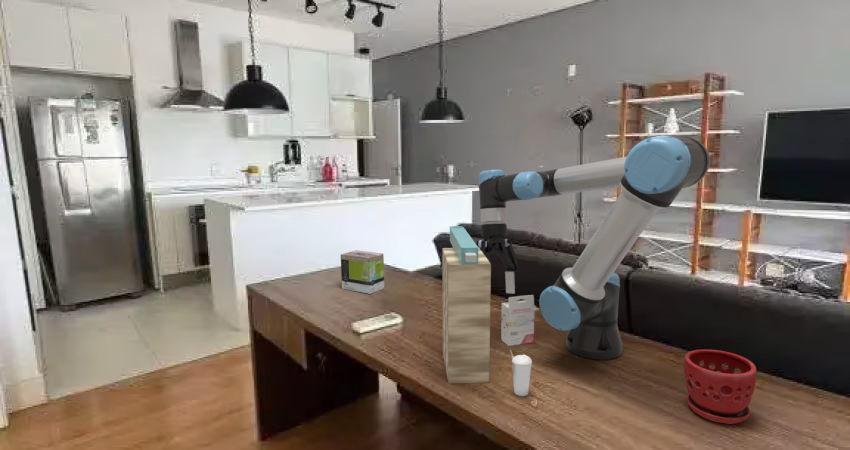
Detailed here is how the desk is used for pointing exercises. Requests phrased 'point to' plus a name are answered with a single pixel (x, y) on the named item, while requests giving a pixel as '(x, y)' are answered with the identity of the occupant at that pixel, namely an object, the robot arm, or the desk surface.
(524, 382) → the milkshake
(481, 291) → the stand
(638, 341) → the desk surface
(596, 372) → the desk surface
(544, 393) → the desk surface
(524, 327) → the ink cartridge box
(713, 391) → the plant pot
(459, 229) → the teal rounded-top bar
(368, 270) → the tea box
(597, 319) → the robot arm
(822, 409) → the desk surface
